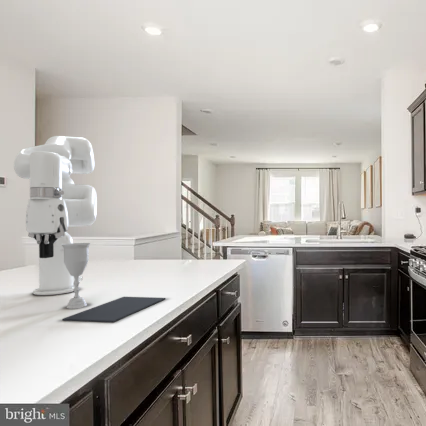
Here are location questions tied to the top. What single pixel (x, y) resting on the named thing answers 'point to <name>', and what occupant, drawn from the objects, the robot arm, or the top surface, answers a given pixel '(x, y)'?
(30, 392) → the top surface
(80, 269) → the chalice
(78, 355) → the top surface
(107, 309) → the mat
